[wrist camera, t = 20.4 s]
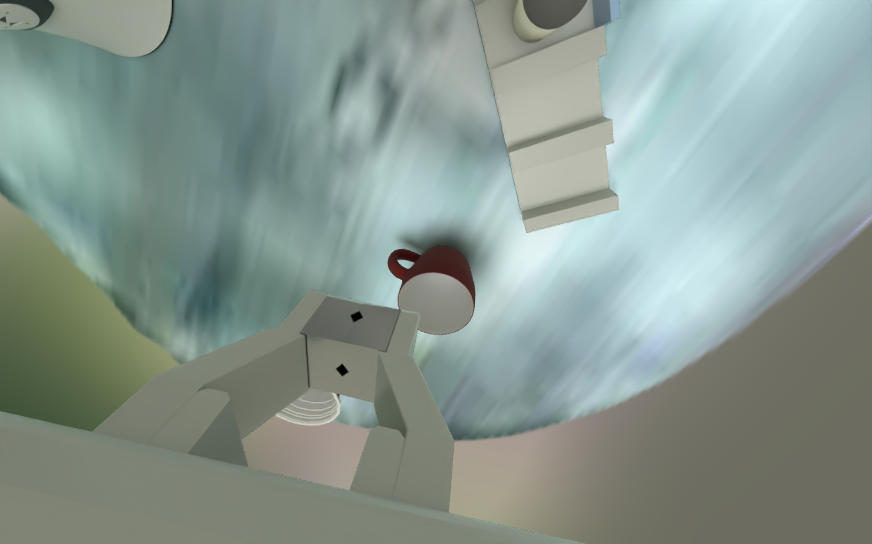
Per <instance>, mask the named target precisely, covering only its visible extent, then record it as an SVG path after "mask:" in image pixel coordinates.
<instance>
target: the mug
mask: <svg viewBox="0 0 872 544" xmlns="http://www.w3.org/2000/svg"><path fill="white" fill-rule="evenodd" d="M397 260H407V261H411V262H414V263H415V264H414V265H413V266H412V267H411V268H409V269H406V268H404V267H403V266H401V265H400V264H399V263H398V261H397ZM388 268H389V270H390V271H391V273H392V274H393V275H394V276H395V277H397V278H399V279H401V280H402V285H401V288H400V291H399V294H398V307H399V310H406V311H412V312H417V313H420V321H419V326H418V330H420V331H422V332H425V333H428V334H434V335H445V334H450V333H454V332H456V331H459V330H460V329H462V328H463V327H465V326H466V325H467V324H468V323H469V321H470V320H471V318H472V316H473V313H474V307H475V286H474V282H473V278H472V274H471V271H470V267H469V264H468V262H467V260H466V258H465V257H464V256H463V255H462V254H461V253H460V252H459V251H458V250H456V249H454V248H452V247H448V246H438V247H434V248H431V249H429V250H428V251H426V252H425V253H423V254H422V255H419V254H416V253H414V252H412V251H409V250H406V249H398V250H395V251H393V252H392V253H391V254H390V256H389V258H388Z"/></svg>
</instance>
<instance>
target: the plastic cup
mask: <svg viewBox="0 0 872 544" xmlns="http://www.w3.org/2000/svg"><path fill="white" fill-rule="evenodd" d="M340 405H341V401H340V399H339V394H336V393H330V392H325V391H320V390H314V389H309V391H307V392H306V393H304V394H303V395H302V396H300V397H299V398H298V399H296V400H295V401H294V402H292V403H291V404H289V405H288V406H287V407H285V408H284V409H283V410H281V411H280V412H279V413H277V414H276V416H277V417H280V418H282V419H284V420H287V421H289V422H291V423H296V424H302V425H322V424H325V423H328V422H331V421H333V420H334V419H335V418H336V417H337V416H338V415H339V413H340Z"/></svg>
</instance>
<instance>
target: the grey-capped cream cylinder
mask: <svg viewBox="0 0 872 544" xmlns="http://www.w3.org/2000/svg"><path fill="white" fill-rule="evenodd" d="M586 2H587V0H518V2H517V4H516V7H515V9H514V13H513V28H514V31H515V33H516V35H517V36H518V38H519V39H520V40H522V41H524V42H526V43H536V42H539V41H541V40H542V39H544V38H545V37H547V36H548V35H549V34H551V33H552V32H553V31H554V30H556V29H557V28H559V27H561V26H563V25H565V24H567V23H568V22H569V21H571V20H572V19H573V18H574V17H576V16H577V15H578V14H579V12H580V11H581V10H582V9H583V7H584V6H585V4H586Z"/></svg>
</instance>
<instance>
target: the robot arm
mask: <svg viewBox="0 0 872 544" xmlns="http://www.w3.org/2000/svg"><path fill="white" fill-rule="evenodd" d="M171 9H172V0H0V29H4V30H31V29H33V30H37V31H42V32H46V33H50V34H54V35H59V36H63V37H66V38H70V39H74V40H77V41H81V42H84V43H87V44H90V45H93V46H96V47H98V48H101V49H103V50H106V51H108V52H110V53H113V54H116V55H120V56H125V57H138V56H143V55H146V54H148V53H150V52H152V51H153V50H154V49H156V48H157V47H158V46H159V45H160V43H161V42H162V41H163V39H164V37H165V35H166V33H167V30H168V27H169V23H170V18H171ZM419 321H420V313H417V312H412V311H406V310H399V309H394V308H389V307H384V306H379V305H374V304H370V303H366V302H361V301H357V300H353V299H349V298H344V297H340V296H336V295H332V294H330V295H329V294H326V293H322V292H317V291H313V290H312V291H310V292H308V293H307V294H306V295H305V296H304V297H303V298H302V300H301V301H300V302H299V303H298V304H297V305H296V307H295V308H294V309H293V310H292V311H291V313H290V314H289V315H288V316H287V317H286V318H285V320H284V321H283V322H282V323H281V324H280V326H279V327H278V328H277V329H275V328H269V329H267V330H264V331H262V332H259V333H257V334H254V335H252V336H250V337H247V338H245V339H242V340H240V341H237V342H235V343H233V344H230V345H228V346H225V347H223V348H220V349H218V350H215V351H213V352H211V353H208V354H206V355H203V356H201V357H198V358H196V359H194V360H191V361H189V362H186V363H184V364H181V365H179V366H177V367H174V368H172V369H169V370H167V371H164V372H162V373H159V374H157V375H156V376H155V377H153V378H152V379H151V380H150V381H149V382H148V383H147V384H146V385H144V386H143V387H142V388H141V389H140V390H139V391H138V392H137V393H135V394H134V395H133V396H132V397H131V398H130V399H129V400H128V401H126V402H125V403H124V404H123V405H122V406H121V407H120V408H118V410H116V411H115V412H114V413H113V414H112V415H111V416H109V417H108V418H107V419H106V420H105V421H104V422H103V423H102V424H100V425H99V426H98V427H97V428H96V429H95V430H94V431H93V432H89V431H85V430H80V429H76V428H72V427H67V426H63V425H58V424H54V423H49V422H45V421H41V420H36V419H32V418H27V417H23V416H19V415H14V414H9V413H5V412H1V411H0V544H585V543H580V542H575V541H571V540H567V539H563V538H558V537H554V536H549V535H544V534H540V533H536V532H532V531H527V530H522V529H518V528H514V527H509V526H505V525H500V524H496V523H492V522H487V521H483V520H478V519H474V518H469V517H465V516H460V515H456V514H452V513H449V503H450V491H451V478H452V465H453V453H454V439H453V437H452V435H451V433H450V431H449V429H448V427H447V425H446V423H445V421H444V419H443V417H442V415H441V413H440V411H439V408H438V406H437V404H436V402H435V400H434V398H433V396H432V394H431V392H430V390H429V388H428V386H427V384H426V382H425V380H424V378H423V375H422V373H421V371H420V369H419V367H418V365H417V363H416V361H415V359H414V358H413V353H414V348H415V343H416V337H417V332H418V326H419ZM309 389H314V390H320V391H325V392H330V393H336V394H341V395H345V396H349V397H353V398H357V399H361V400H365V401H369V402H373V403H374V407H375V411H376V415H377V419H378V423H379V426H377V427H375V428H374V429H372V430H370V432H369V435H368V438H367V441H366V444H365V447H364V450H363V452H362V455H361V458H360V461H359V464H358V467H357V470H356V473H355V476H354V479H353V482H352V485H351V487H350V490H346V489H341V488H337V487H333V486H328V485H324V484H319V483H315V482H311V481H306V480H301V479H297V478H293V477H289V476H284V475H280V474H275V473H271V472H267V471H262V470H257V469H253V468H249V467H248V464H247V459H246V456H245V452H244V448H243V445H242V441H241V440H242V439H243V438H245V437H246V436H247V435H249V434H250V433H251V432H253V431H254V430H255V429H257V428H258V427H260V426H261V425H262V424H263V423H265V422H266V421H268V420H269V419H270V418H272V417H273V416H275V415H276V414H277V413H279V412H280V411H281V410H283V409H284V408H285V407H287V406H288V405H289V404H291V403H292V402H294V401H295V400H296V399H298V398H299V397H300V396H302V395H303V394H304V393H306V392H307V391H309Z"/></svg>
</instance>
